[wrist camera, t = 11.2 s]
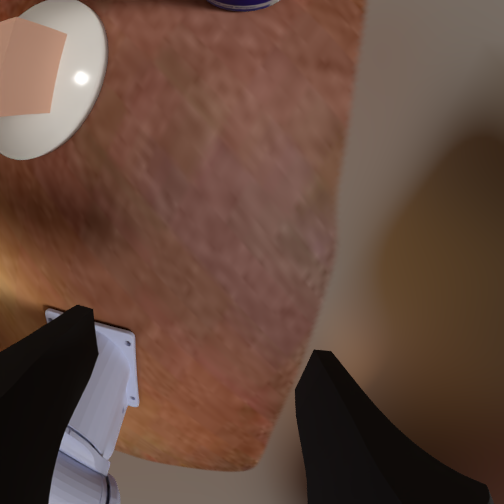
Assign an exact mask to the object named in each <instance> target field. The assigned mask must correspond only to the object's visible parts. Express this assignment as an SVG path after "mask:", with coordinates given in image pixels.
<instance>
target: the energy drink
mask: <svg viewBox="0 0 504 504" xmlns="http://www.w3.org/2000/svg"><path fill="white" fill-rule="evenodd" d="M206 1H208V2H209V3H211V4H213V5H215V6H216V7H219V8H222V9H225V10H231V11H243V12H246V11H255V10H259V9H264V8H266V7H269V6H271V5H273V4H275V3H277V2H278V1H280V0H206Z"/></svg>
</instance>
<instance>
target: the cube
mask: <svg viewBox="0 0 504 504" xmlns="http://www.w3.org/2000/svg"><path fill="white" fill-rule="evenodd" d="M66 37H67V34H66V33H63V32H60V31H58V30H55V29H52V28H49V27H46V26H44V25H41V24H38V23H35V22H32V21H28V20H25V19H22V18H19V17H14V18H11V19H8V20H5V21H2V22H0V117H5V116H14V115H26V114H41V113H50V110H51V103H52V97H53V92H54V87H55V82H56V77H57V72H58V68H59V64H60V59H61V55H62V52H63V48H64V44H65V41H66Z"/></svg>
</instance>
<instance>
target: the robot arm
mask: <svg viewBox="0 0 504 504" xmlns="http://www.w3.org/2000/svg"><path fill="white" fill-rule="evenodd" d="M45 316H46V320H47V324H46V325H44V326H43V327H41V328H40V329H38V330H36V331H35V332H33V333H32V334H30V335H29V336H27V337H25V338H24V339H22V340H20V341H18V342H17V343H15V344H13V345H12V346H10V347H8V348H7V349H5V350H3V351H1V352H0V504H120V493H119V490H118V487H117V483H116V481H115V479H114V477H113V476H111V475H110V474H109V473H108V470H109V467H110V461H108V459H109V458H110V456H111V455H112V453H113V451H114V448H115V444H116V441H117V438H118V435H119V431H120V428H121V425H122V422H123V418H124V415H125V412H126V409H127V406H128V405H129V406H133V407H138V405H139V395H138V383H137V369H136V350H135V335H134V334H133V333H132V332H131V331H128V330H124V329H120V328H116V327H112V326H108V325H105V324H101V323H97V322H94V314H93V309H91V308H87V307H84V306H80V305H76V306H74V307H72V308H71V309H69V310H67V311H66V312H60V311H57V310H54V309H51V308H48V309H47V310H46V311H45ZM127 341H129V342H130V343H129V342H127ZM295 406H296V418H297V425H298V430H299V436H300V442H301V447H302V453H303V458H304V464H305V470H306V477H307V496H308V504H494V503H493V500H492V497H491V495H490V492H489V490H488V487H487V485H485V484H483V483H480V482H478V481H476V480H473V479H471V478H469V477H467V476H464V475H462V474H460V473H458V472H457V471H455V470H453V469H451V468H449V467H448V466H446V465H444V464H443V463H441V462H440V461H438V460H437V459H435V458H434V457H432V456H431V455H429V454H428V453H426V452H425V451H424V450H422V449H421V448H420V447H419V446H417V445H416V444H415V443H414V442H412V441H411V440H410V439H409V438H408V437H406V436H405V435H404V434H403V433H402V432H401V431H400V430H399V429H398V428H396V427H395V425H393V424H392V423H391V422H390V420H388V418H387V417H386V416H385V415H384V414H383V413H382V412H381V411H380V410H379V409H378V408H377V407H376V406H375V405H374V403H373V402H372V401H371V400H370V399H369V397H368V396H367V395H366V394H365V393H364V391H363V390H362V389H361V388H360V387H359V385H358V384H357V383H356V382H355V380H354V379H353V378H352V377H351V375H350V374H349V373H348V372H347V370H346V369H345V368H344V367H343V365H342V364H341V363H340V362H339V360H338V359H337V358H336V357H335V355H334V354H333V353H332V352H331V351H323V350H314V351H313V353H312V355H311V357H310V359H309V361H308V363H307V366H306V368H305V370H304V372H303V374H302V376H301V379H300V380H299V382H298V384H297V386H296V388H295Z"/></svg>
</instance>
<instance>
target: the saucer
mask: <svg viewBox="0 0 504 504" xmlns="http://www.w3.org/2000/svg"><path fill="white" fill-rule="evenodd" d="M19 18H22V19H25V20H28V21H32V22H35V23H38V24H41V25H44V26H46V27H49V28H52V29H55V30H58V31H60V32H63V33H66V34H67V37H66V41H65V44H64V48H63V52H62V55H61V59H60V64H59V68H58V72H57V77H56V82H55V87H54V92H53V97H52V103H51V110H50V113H41V114H26V115H14V116H5V117H0V153H1V154H3V155H4V156H6V157H8V158H11V159H16V160H27V159H32V158H36V157H39V156H43V155H46V154H48V153H51V152H52V151H54V150H56V149H58V148H59V147H60V146H62V145H63V144H64V143H66V142H67V141H68V140H69V139H70V138H71V137H72V136H73V135H74V134H75V133H76V132H77V130H78V129H79V128H80V127H81V126H82V124H83V123H84V121H85V120H86V118H87V117H88V115H89V113H90V112H91V110H92V108H93V107H94V104H95V102H96V100H97V98H98V96H99V93H100V90H101V88H102V85H103V81H104V78H105V74H106V69H107V63H108V39H107V34H106V30H105V27H104V25H103V22H102V21H101V19H100V17H99V16H98V15H97V14H96V13H95V12H94V10H92V9H91V8H89V7H88V6H86V5H85V4H83V3H81V2H79V1H77V0H47V1H44V2H41V3H39V4H37V5H35V6H33V7H32V8H30V9H28V10H27V11H25V12H24V13H23V14H22V15H20V16H19Z"/></svg>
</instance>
